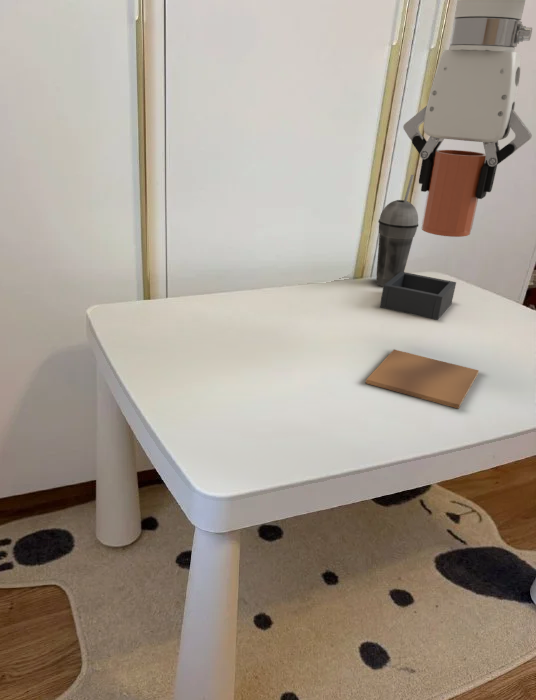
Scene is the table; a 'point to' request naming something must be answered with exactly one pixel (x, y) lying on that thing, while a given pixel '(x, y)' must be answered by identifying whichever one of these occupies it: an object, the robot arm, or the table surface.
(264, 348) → the table surface
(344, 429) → the table surface
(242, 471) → the table surface
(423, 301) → the cup holder
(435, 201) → the tumbler
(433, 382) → the cork mat
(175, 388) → the table surface
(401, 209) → the beverage cup
